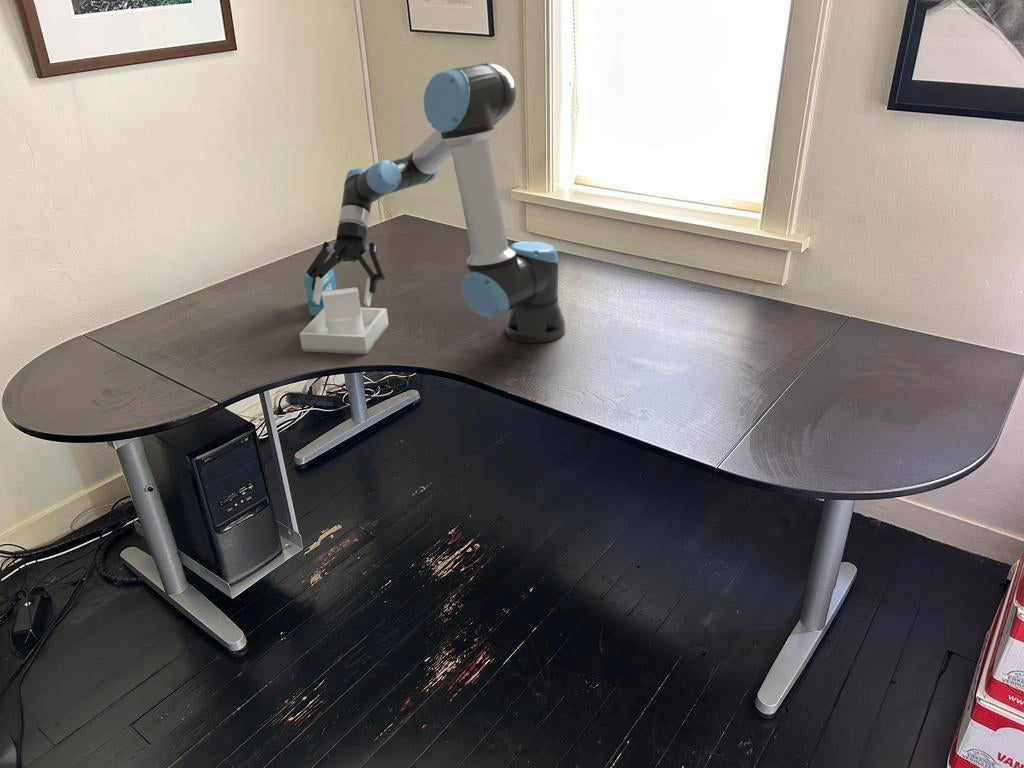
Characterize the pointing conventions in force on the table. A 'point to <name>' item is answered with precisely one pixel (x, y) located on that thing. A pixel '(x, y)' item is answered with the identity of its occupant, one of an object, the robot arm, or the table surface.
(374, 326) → the bin
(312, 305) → the data package
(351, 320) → the base with upright slab
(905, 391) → the table surface
